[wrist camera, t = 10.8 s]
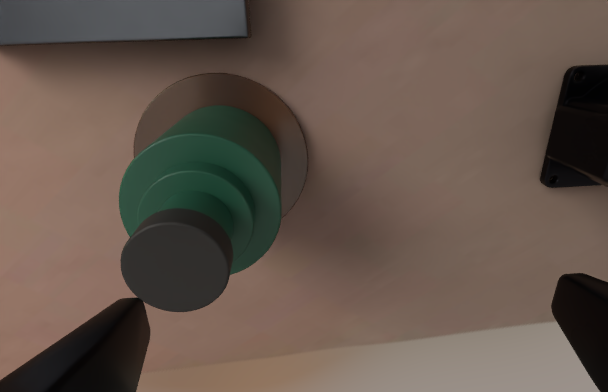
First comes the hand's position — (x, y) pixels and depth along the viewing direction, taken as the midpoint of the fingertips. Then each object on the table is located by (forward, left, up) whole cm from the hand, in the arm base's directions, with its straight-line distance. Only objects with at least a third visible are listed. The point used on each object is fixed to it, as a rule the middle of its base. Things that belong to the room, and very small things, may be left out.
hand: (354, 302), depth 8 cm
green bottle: (+5, +1, -12) cm, 13 cm away
